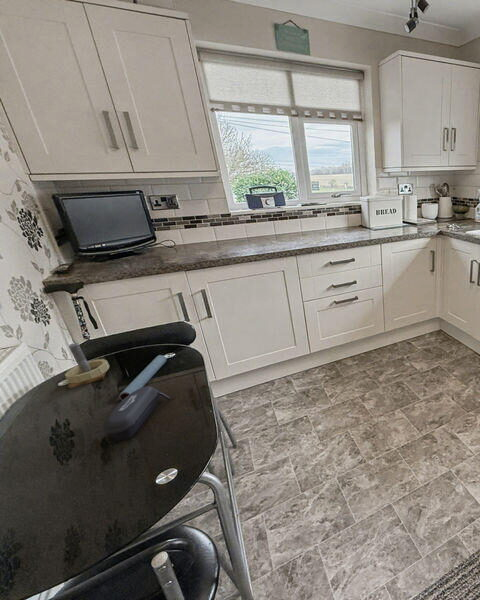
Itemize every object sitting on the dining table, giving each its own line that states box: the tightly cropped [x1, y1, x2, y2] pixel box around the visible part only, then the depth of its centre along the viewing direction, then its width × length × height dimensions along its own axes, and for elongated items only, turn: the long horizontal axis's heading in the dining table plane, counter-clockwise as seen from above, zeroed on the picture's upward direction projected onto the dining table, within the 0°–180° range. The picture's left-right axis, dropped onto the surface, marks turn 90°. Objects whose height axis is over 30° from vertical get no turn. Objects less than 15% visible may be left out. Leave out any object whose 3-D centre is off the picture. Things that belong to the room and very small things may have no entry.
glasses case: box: [103, 385, 171, 442], centre depth 89 cm, size 18×10×8 cm, turn 13°
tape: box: [64, 358, 110, 383], centre depth 113 cm, size 11×11×2 cm
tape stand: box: [67, 342, 108, 389], centre depth 111 cm, size 9×9×14 cm
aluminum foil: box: [118, 354, 168, 401], centre depth 108 cm, size 23×7×3 cm, turn 11°
